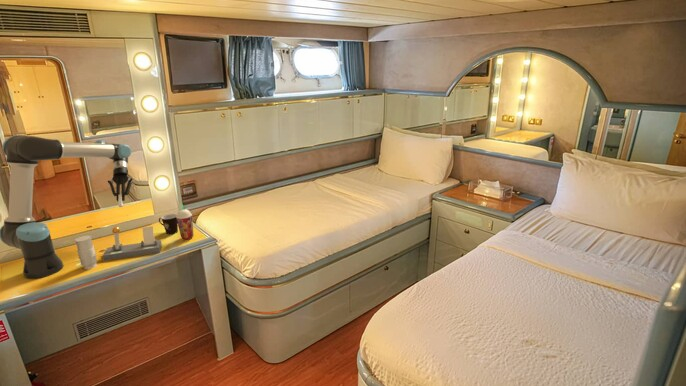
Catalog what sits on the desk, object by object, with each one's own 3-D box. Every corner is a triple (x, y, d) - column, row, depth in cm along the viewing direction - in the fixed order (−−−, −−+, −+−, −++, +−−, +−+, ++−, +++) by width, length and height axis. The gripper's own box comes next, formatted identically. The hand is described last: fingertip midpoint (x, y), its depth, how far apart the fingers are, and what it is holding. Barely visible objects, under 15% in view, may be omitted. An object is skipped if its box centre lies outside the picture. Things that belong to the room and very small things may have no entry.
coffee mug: (182, 231, 225) (179, 216, 222) (168, 236, 219) (165, 220, 216) (173, 227, 233) (170, 211, 230) (159, 231, 226) (156, 215, 223)
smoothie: (197, 235, 220) (193, 202, 214) (191, 241, 212) (185, 207, 206) (184, 234, 220) (179, 202, 215) (176, 240, 213) (171, 207, 207)
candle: (80, 271, 181) (73, 242, 177) (83, 265, 187) (75, 237, 183) (97, 267, 184) (90, 239, 179) (99, 261, 190) (92, 234, 186)
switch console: (103, 261, 191) (101, 251, 189) (108, 252, 200) (106, 243, 198) (159, 252, 199) (158, 243, 197) (161, 245, 208) (160, 235, 206)
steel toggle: (112, 248, 194) (110, 227, 195) (114, 248, 197) (112, 227, 198) (120, 247, 195) (118, 226, 196) (122, 247, 198) (120, 226, 199)
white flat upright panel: (144, 244, 199) (142, 227, 200) (144, 244, 200) (142, 227, 201) (154, 243, 201) (152, 226, 202) (154, 243, 202) (153, 226, 203)
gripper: (134, 172, 225) (135, 207, 215) (110, 174, 221) (109, 210, 211) (131, 165, 219) (131, 201, 209) (106, 167, 215) (105, 204, 205)
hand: (120, 205), depth 210 cm, fingers closed
